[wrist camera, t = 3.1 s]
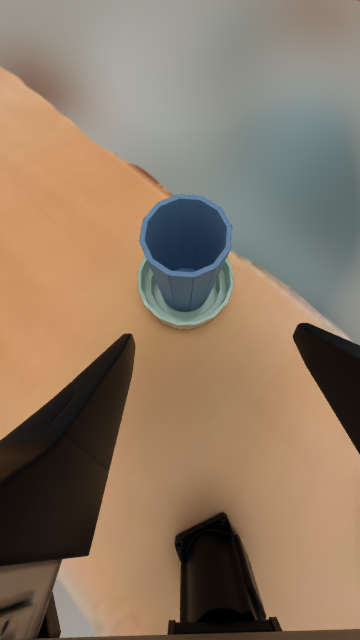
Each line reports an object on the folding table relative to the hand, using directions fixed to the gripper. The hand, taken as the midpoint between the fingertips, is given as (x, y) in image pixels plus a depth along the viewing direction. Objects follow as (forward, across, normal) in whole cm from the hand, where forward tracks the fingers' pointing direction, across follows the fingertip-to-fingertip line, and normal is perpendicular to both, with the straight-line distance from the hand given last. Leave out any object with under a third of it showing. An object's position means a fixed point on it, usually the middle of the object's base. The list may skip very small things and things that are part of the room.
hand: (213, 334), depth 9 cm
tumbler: (+14, +1, +4) cm, 15 cm away
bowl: (+15, +1, +5) cm, 16 cm away
